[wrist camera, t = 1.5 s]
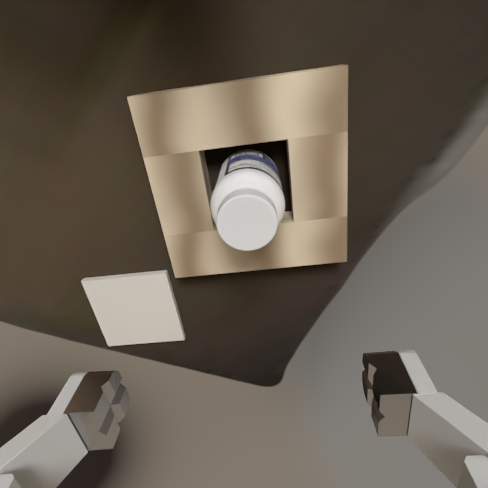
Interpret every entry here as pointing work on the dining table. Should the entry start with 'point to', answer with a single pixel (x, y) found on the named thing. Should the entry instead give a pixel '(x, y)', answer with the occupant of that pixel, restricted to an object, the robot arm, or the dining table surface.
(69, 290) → the dining table surface
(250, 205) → the pill bottle
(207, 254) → the socket block
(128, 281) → the pad
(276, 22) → the dining table surface
